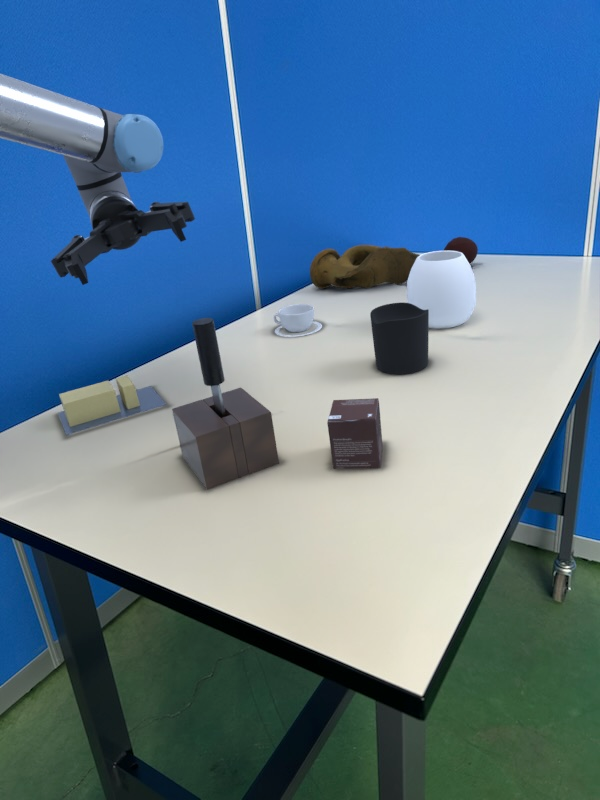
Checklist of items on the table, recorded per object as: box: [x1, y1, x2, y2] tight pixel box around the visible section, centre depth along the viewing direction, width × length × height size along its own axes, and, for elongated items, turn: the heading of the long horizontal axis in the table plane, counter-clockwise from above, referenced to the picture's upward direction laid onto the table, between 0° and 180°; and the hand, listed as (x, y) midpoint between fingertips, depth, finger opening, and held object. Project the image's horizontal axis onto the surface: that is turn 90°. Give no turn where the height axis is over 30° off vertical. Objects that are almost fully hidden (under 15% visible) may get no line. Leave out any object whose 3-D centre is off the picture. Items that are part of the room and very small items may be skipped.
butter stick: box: [58, 380, 121, 427], centre depth 100 cm, size 8×5×4 cm, turn 117°
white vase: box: [406, 250, 477, 330], centre depth 121 cm, size 13×13×14 cm
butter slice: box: [115, 374, 140, 409], centre depth 103 cm, size 2×5×4 cm, turn 27°
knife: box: [191, 317, 226, 418], centre depth 79 cm, size 3×3×20 cm
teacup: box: [273, 303, 323, 338], centre depth 129 cm, size 10×10×5 cm
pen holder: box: [369, 302, 430, 376], centre depth 104 cm, size 9×9×10 cm
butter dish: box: [57, 385, 167, 436], centre depth 103 cm, size 16×10×1 cm, turn 117°
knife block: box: [171, 387, 280, 490], centre depth 82 cm, size 10×10×8 cm
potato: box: [443, 236, 479, 265], centre depth 159 cm, size 8×9×8 cm
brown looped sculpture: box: [309, 244, 421, 290], centre depth 151 cm, size 18×13×22 cm
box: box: [326, 397, 384, 470], centre depth 79 cm, size 6×6×7 cm
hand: (130, 252), depth 79 cm, fingers open, 13 cm apart
